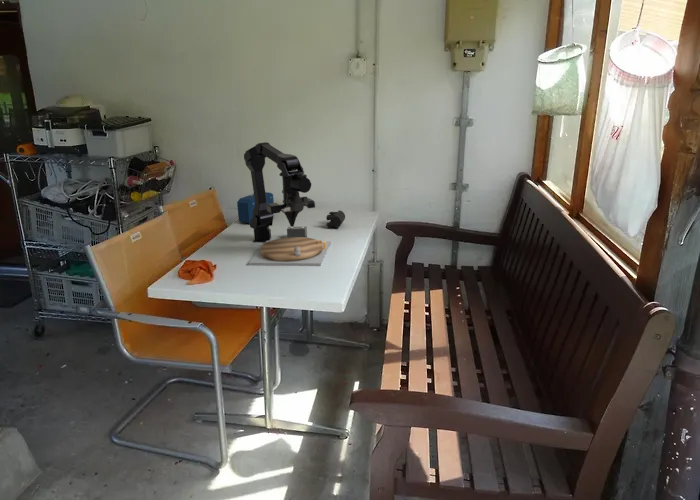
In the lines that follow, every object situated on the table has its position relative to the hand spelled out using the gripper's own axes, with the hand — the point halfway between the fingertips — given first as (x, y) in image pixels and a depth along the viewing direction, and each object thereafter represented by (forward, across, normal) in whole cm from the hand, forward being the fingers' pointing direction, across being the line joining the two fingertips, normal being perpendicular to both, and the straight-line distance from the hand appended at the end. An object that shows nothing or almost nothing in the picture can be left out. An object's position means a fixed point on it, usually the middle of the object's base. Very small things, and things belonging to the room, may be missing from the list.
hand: (292, 226), depth 219 cm
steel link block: (+12, +9, +17) cm, 22 cm away
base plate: (+11, -1, -1) cm, 11 cm away
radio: (+13, +4, +59) cm, 60 cm away
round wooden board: (+10, -1, -1) cm, 10 cm away
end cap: (+12, +32, +24) cm, 42 cm away
